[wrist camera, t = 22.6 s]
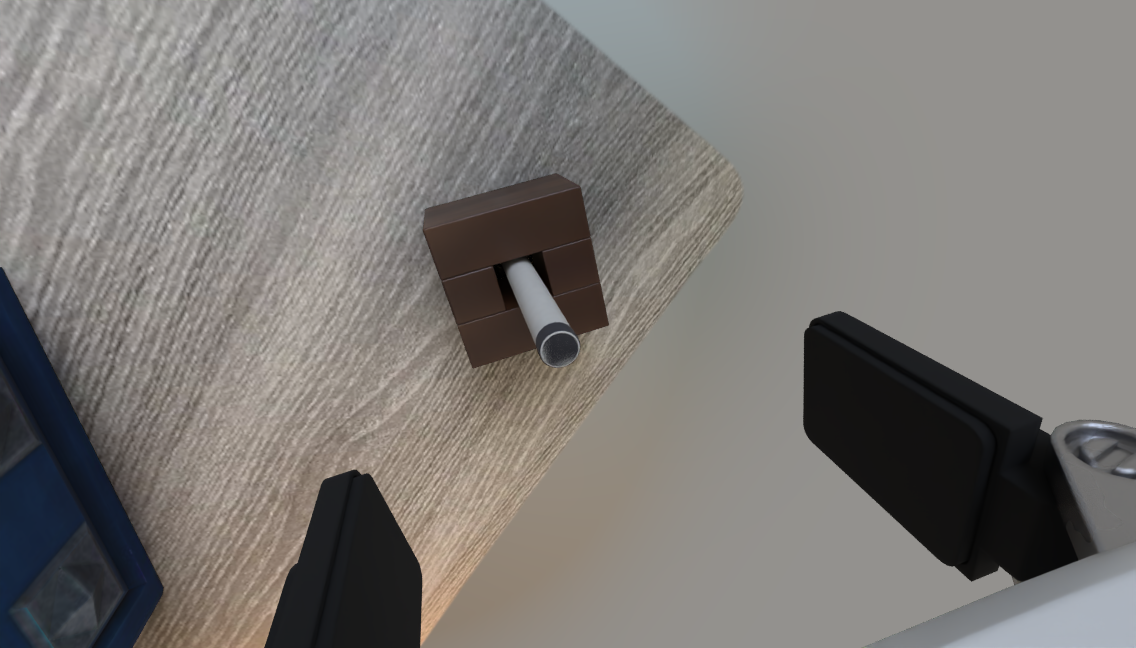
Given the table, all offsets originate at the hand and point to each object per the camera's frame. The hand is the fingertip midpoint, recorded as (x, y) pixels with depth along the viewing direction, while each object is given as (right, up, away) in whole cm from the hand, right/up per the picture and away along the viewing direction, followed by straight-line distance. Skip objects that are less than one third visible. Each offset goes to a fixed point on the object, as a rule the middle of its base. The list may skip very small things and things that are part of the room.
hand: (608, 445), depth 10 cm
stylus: (-4, +7, +18) cm, 20 cm away
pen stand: (-4, +7, +18) cm, 20 cm away
